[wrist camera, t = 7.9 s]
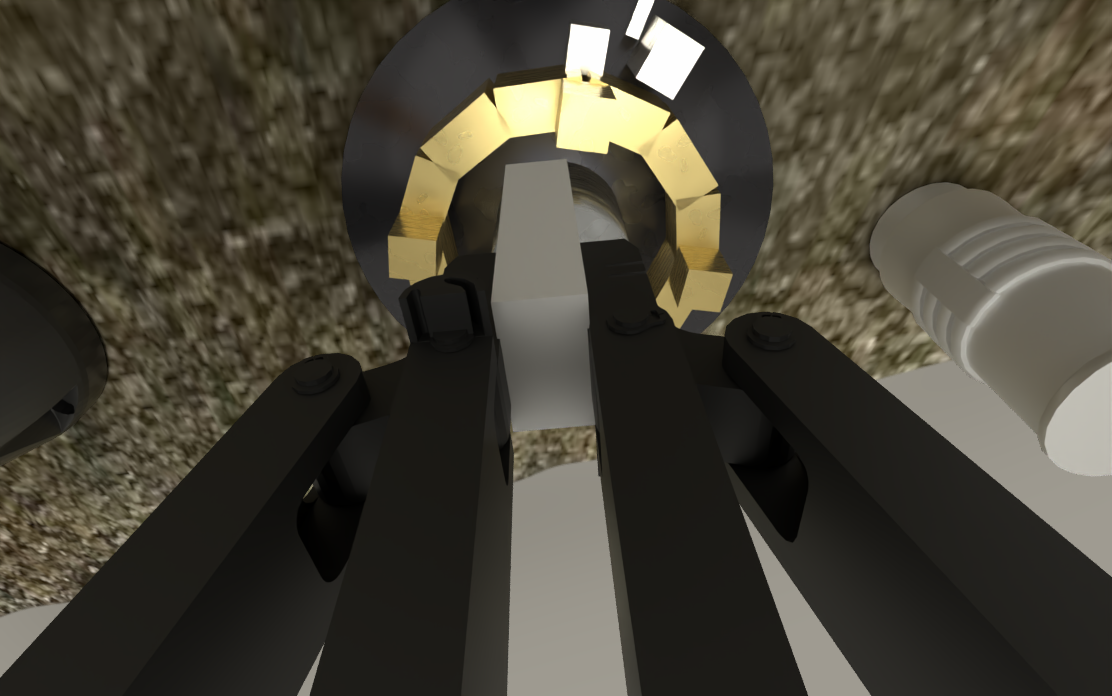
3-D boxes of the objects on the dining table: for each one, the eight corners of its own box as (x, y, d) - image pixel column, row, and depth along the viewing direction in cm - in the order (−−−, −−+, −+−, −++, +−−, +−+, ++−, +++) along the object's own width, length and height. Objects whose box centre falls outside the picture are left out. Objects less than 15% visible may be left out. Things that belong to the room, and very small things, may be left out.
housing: (422, 394, 39) (400, 481, 33) (275, 24, 27) (196, 53, 20) (758, 344, 37) (801, 425, 31) (771, -79, 25) (847, -82, 19)
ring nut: (348, 200, 30) (313, 249, 25) (593, -14, 24) (605, -1, 20) (535, 384, 37) (534, 447, 32) (755, 248, 32) (791, 300, 27)
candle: (909, 156, 31) (1154, 306, 18) (1017, 194, 32) (1314, 357, 20) (835, 270, 34) (999, 457, 22) (935, 299, 36) (1141, 491, 23)
